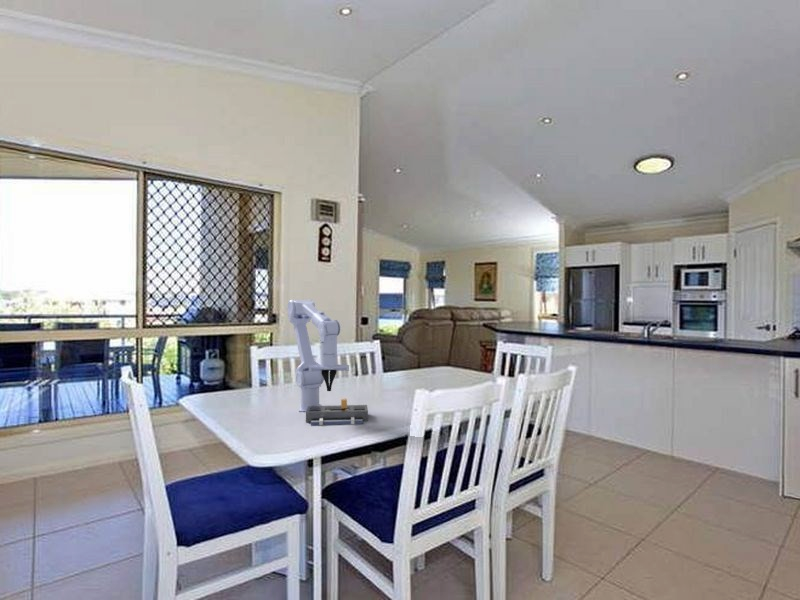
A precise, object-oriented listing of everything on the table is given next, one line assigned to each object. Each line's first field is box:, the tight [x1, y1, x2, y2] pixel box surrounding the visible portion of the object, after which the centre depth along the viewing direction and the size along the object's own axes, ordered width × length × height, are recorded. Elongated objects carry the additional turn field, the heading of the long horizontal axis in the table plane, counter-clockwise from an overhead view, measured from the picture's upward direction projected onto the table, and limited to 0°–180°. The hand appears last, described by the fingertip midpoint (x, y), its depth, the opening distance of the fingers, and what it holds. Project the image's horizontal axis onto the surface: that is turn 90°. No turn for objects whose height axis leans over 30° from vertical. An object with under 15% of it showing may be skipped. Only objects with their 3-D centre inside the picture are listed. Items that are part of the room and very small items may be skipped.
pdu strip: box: [305, 404, 369, 423], centre depth 173 cm, size 9×22×4 cm, turn 96°
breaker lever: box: [340, 398, 348, 409], centre depth 173 cm, size 2×2×3 cm
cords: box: [310, 417, 364, 426], centre depth 167 cm, size 4×18×2 cm, turn 96°
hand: (329, 390), depth 173 cm, fingers closed
